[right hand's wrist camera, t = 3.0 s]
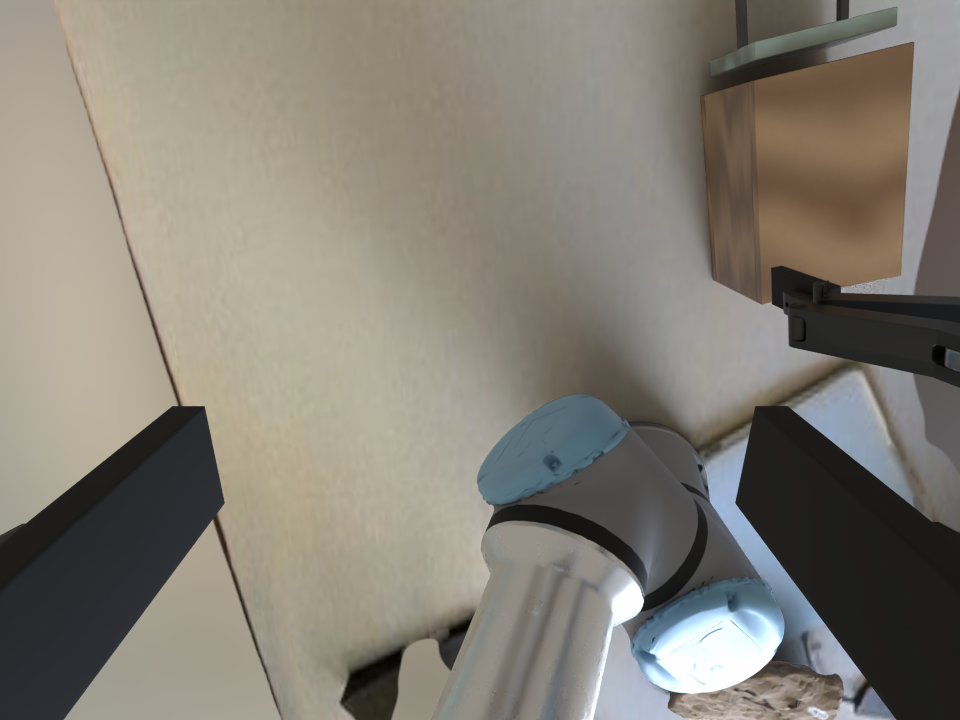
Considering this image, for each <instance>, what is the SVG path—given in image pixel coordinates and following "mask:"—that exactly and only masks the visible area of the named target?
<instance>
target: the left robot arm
mask: <svg viewBox="0 0 960 720" xmlns="http://www.w3.org/2000/svg"><path fill="white" fill-rule="evenodd" d="M771 286H772V304H773V305H775V306H777V307H779V308H781V309H783V310H784V314H786V315H788V330H789V346H790V347H793V348H798V349H803V350H807V351H812V352H817V353H821V354H826V355H831V356H835V357H840V358H845V359H850V360H854V361H859V362H864V363H868V364H873V365H878V366H882V367H887V368H892V369H897V370H901V371H906V372H911V373H915V374H920V375H925V376H930V377H934V378H936V379H939V380H941V381H944V382H947V383H949V384H952V385H954V386H957V387H959V388H960V297H945V296H916V295H886V294H856V293H841V286H840V285H837V284H834V283H831V282H829V280H822V279H820V278H817V277H814V276H811V275H808V274H805V273H802V272H799V271H796V270H793V269H791V268H788V267H785V266H777V267H772V268H771ZM477 484H478V488H479V491H480V493H481V494H482V495H483V500H485V501H487V503H488V504H489V505H490V504H491V505H494V513H493V515H492V518H491V520H490V523H489V525H488V527H487V529H486V532H485V534H484V536H483V539H482V543H481V552H482V555H483V558H484V560H485V563H486V565H487V567H488V569H489V572H490V578H489V580H488V583H487V585H486V588H485V590H484V593H483V595H482V597H481V600H480V602H479V605H478V607H477V610H476V612H475V615H474V617H473V619H472V622H471V624H470V627H469V629H468V632H467V634H466V637H465V639H464V641H463V644H462V646H461V649H460V651H459V654H458V656H457V659H456V661H455V663H454V666H453V668H452V671H451V673H450V676H449V678H448V680H447V683H446V685H445V688H444V690H443V693H442V695H441V698H440V700H439V702H438V705H437V707H436V710H435V712H434V715H433V717H432V720H593V716H594V712H595V707H596V703H597V698H598V694H599V689H600V685H601V680H602V676H603V671H604V666H605V662H606V657H607V653H608V648H609V644H610V639H611V635H612V630H613V627H614V626H616V625H618V624H620V623H621V624H622V625H623V627H624V628H625V630H626V631H627V633H628V635H629V638H630V642H631V652H632V655H633V657H634V658H635V659H636V661H637V662H638V664H639V667H640V669H641V671H642V672H643V674H644V675H645V676H646V677H647V678H648V679H649V680H650V681H651V682H653V683H654V684H656V685H657V686H659V687H661V688H663V689H666V690H669V691H673V692H678V693H690V694H694V693H700V692H712V691H716V690H721V689H724V688H727V687H730V686H732V685H735V684H737V683H739V682H741V681H743V680H745V679H747V678H749V677H750V676H752V675H753V674H755V673H756V672H758V671H759V670H760V669H761V668H763V667H764V666H765V665H766V664H767V663H768V662H769V661H770V660H771V659H772V657H773V656H774V654H775V653H776V651H777V647H778V646H779V644H780V643H781V642H782V639H783V635H784V627H785V625H784V618H783V614H782V611H781V609H780V607H779V605H778V604H777V602H776V600H775V598H774V597H773V592H772V589H771V587H770V586H769V584H768V583H767V582H765V581H764V580H762V579H761V577H760V576H759V575H758V573H757V572H756V570H755V569H754V567H753V566H752V564H751V563H750V561H749V560H748V558H747V557H746V555H745V554H744V552H743V551H742V549H741V548H740V546H739V545H738V543H737V542H736V540H735V539H734V537H733V536H732V534H731V533H730V531H729V530H728V528H727V527H726V525H725V524H724V522H723V521H722V519H721V518H720V516H719V515H718V513H717V512H716V510H715V509H714V508H713V506H712V504H711V503H710V499H711V498H709V491H708V486H709V485H708V484H707V476H706V472H705V468H704V465H703V463H702V460H701V458H700V457H699V455H698V453H697V452H696V451H695V449H694V448H693V447H692V445H691V444H690V443H689V442H688V441H687V440H686V439H685V438H684V437H683V436H682V435H681V434H679V433H678V432H676V431H674V430H672V429H670V428H668V427H666V426H662V425H659V424H654V423H647V422H635V423H628V422H627V421H626V420H625V419H623V418H620V417H619V416H618V415H617V414H616V413H615V412H614V411H612V410H611V409H610V408H609V407H608V406H607V405H606V404H605V403H604V402H603V401H602V400H600V399H598V398H596V397H594V396H591V395H587V394H575V395H569V396H565V397H562V398H559V399H557V400H554V401H552V402H550V403H548V404H546V405H544V406H542V407H541V408H539V409H537V410H536V411H534V412H533V413H531V414H530V415H528V416H527V417H526V418H524V419H523V420H522V421H521V422H519V423H518V424H517V425H515V426H514V427H513V428H512V429H511V430H510V431H509V432H508V433H507V434H506V435H505V436H504V437H503V438H502V439H501V440H500V441H499V442H498V443H497V444H496V445H495V447H494V448H493V449H492V450H491V452H490V453H489V454H488V456H487V457H486V459H485V461H484V462H483V464H482V466H481V468H480V471H479V473H478V477H477Z"/></svg>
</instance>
